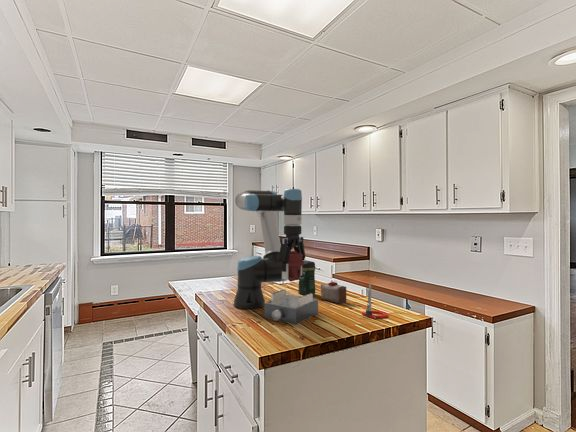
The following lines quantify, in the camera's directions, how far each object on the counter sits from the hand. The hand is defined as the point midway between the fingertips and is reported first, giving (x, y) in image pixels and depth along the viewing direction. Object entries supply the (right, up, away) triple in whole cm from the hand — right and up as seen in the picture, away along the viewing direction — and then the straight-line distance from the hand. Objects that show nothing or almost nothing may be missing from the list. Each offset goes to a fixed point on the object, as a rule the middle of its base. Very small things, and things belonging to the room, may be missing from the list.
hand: (292, 277), depth 140 cm
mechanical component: (0, -1, 0) cm, 1 cm away
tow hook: (+37, -18, +2) cm, 41 cm away
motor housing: (-1, -17, +1) cm, 17 cm away
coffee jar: (+9, -18, +43) cm, 48 cm away
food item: (+22, -18, +28) cm, 40 cm away
